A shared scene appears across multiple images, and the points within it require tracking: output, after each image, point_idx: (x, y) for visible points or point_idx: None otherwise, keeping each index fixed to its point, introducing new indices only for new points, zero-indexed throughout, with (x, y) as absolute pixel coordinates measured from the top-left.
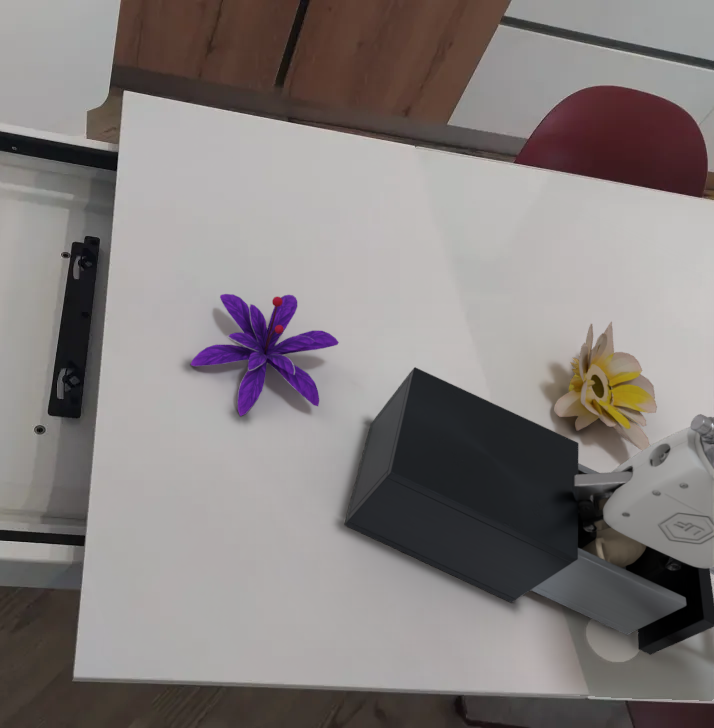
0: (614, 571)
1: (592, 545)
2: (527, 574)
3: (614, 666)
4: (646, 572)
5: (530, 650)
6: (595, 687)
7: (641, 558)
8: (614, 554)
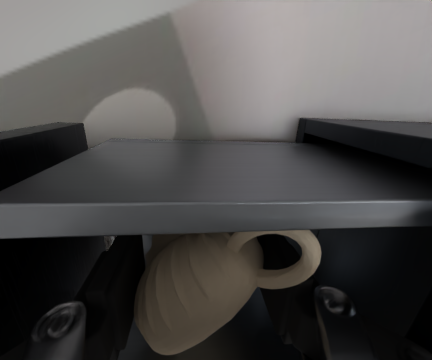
0: (300, 204)
1: (260, 257)
2: (395, 128)
3: (120, 81)
4: (122, 259)
5: (274, 45)
6: (154, 21)
7: (133, 284)
8: (228, 263)
